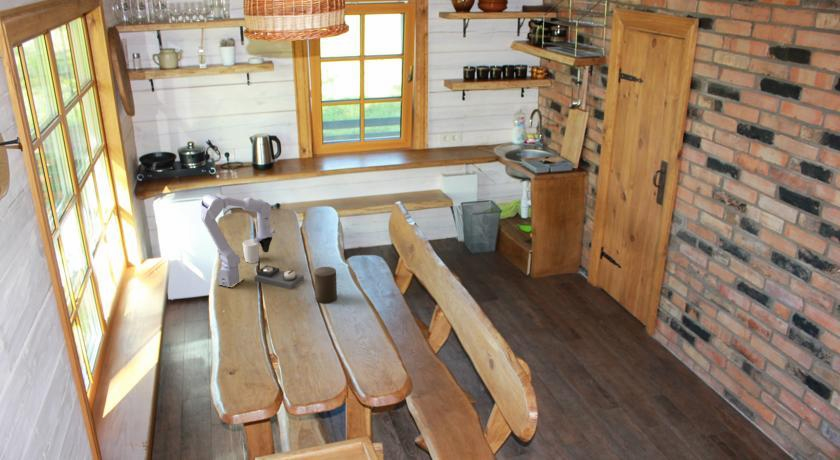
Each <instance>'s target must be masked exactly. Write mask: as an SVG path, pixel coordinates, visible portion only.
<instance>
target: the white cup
mask: <svg viewBox="0 0 840 460" xmlns="http://www.w3.org/2000/svg"><path fill="white" fill-rule="evenodd" d="M242 250H243V256H244V261H246V262H249V263H248V264H256V263H258V262H259V261H260V243H254V238H253V239H252V238H251V239H245V240H244V241H242ZM246 262H245V263H246Z"/></svg>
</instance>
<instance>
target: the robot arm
mask: <svg viewBox="0 0 840 460" xmlns="http://www.w3.org/2000/svg"><path fill="white" fill-rule="evenodd" d="M199 204H200V206H201V207H200V208H201V221H202V222H203V225H204V226H205V228H206V229H207V232H208V233H209V235H210V237H211V239H212V241H213V242H214V244H215V246H216V248H217V253H218V259H219V260H220V261H221V268H220V269H219V271H218V272H217V278H218V280H217V281H218V283H219V285H223V286H228V287H230V286H232V285H233V284H235V283H238V282H239V278H240V272H239V264H240V262H241V257H240V256H239V254H237V253H236V252H235V251H234V250H233V248H232V247H231V246H230V244H229V243H228V240H227V239H226V237H225V235H224V233H223V232H222V230H221V228H220V226H219V223H218V222H217V220H216V218H217V217H218V216H220V214H221V212H222V211H223V210H224V209H227V207H228V206H233V207H239V208H240V207H241V208H242V210H243V211H247V212H254V213H256V219H257V220H256V222H257V233H258V234H257V235H256V236H255V237H254V238H253V239H254V243H259V245H260V247H261V249H262V251H263V253H268V252H269V250H270V245H271V242H272V241H273V236H274V235H273V234H276V229H275V228H271V219H270V213H271V211H272V207H271V204H270V203H269V202H267V201H265V200H263V199H260V198H259V199H254V198H253V197H250V196H248V197H245V198H243V199H240V198H237V197H231V196H226V195H222V194H216V193H215V194H212V193H207V194H204V196H203V197H202V199H201V201H200V202H199ZM219 285H218V286H219ZM223 286H222V287H223ZM228 287H227V288H228Z"/></svg>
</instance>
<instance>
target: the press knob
mask: <svg viewBox="0 0 840 460" xmlns="http://www.w3.org/2000/svg"><path fill="white" fill-rule="evenodd" d="M272 267H273V266H271V267H265V268H264V269H263V272H267V273H271V272H272V271H273V268H272Z"/></svg>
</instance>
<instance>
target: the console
mask: <svg viewBox="0 0 840 460" xmlns="http://www.w3.org/2000/svg"><path fill="white" fill-rule="evenodd" d="M265 267H272V268H273V271H272V272H271V273H267V272H263V269H264V268H265ZM256 272H257V273H256V275H255V276H254V282H256V283H261V284H265V285H269V286H274V287H278V288H282V289H287V290H292V289H294V288H295V287H296V286H298V285H300V284H301V283H302V282H303V281H304V280H305V275H304V274H298V273H295V278H293V279H285V278H284V273H285V272H286V271H285V270H281V269H280V268H279V267H275V266H271V265H267V264H266V265H264V266H263V267H262V268H260V269H258V270H257V271H256Z"/></svg>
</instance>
